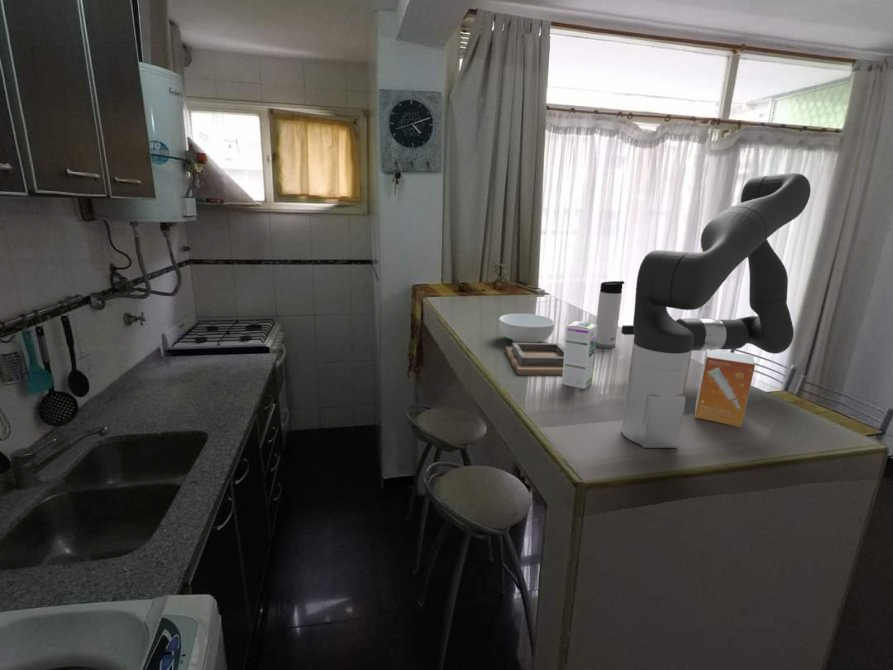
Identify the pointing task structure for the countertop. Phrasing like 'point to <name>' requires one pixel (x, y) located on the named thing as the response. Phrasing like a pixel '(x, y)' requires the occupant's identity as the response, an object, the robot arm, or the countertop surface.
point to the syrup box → (579, 354)
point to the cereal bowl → (526, 327)
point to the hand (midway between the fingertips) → (629, 334)
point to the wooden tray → (537, 358)
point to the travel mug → (608, 313)
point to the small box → (724, 387)
